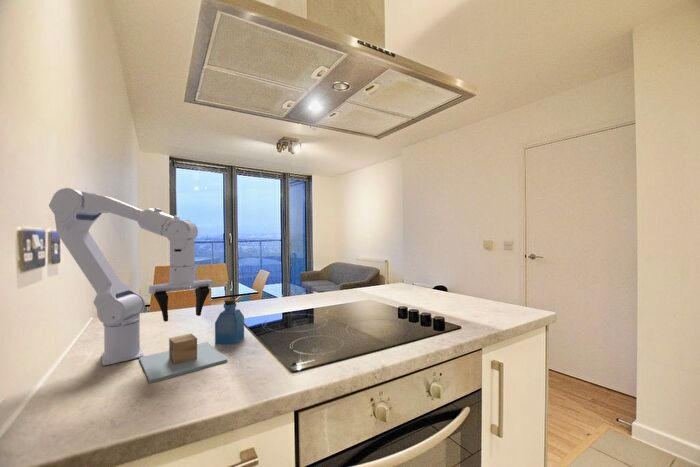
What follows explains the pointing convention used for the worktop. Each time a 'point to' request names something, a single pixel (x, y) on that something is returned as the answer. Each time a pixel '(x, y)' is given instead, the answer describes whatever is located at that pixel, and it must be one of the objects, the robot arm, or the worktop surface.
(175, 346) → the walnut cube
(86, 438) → the worktop surface
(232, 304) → the perfume bottle
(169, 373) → the slate board
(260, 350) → the worktop surface
